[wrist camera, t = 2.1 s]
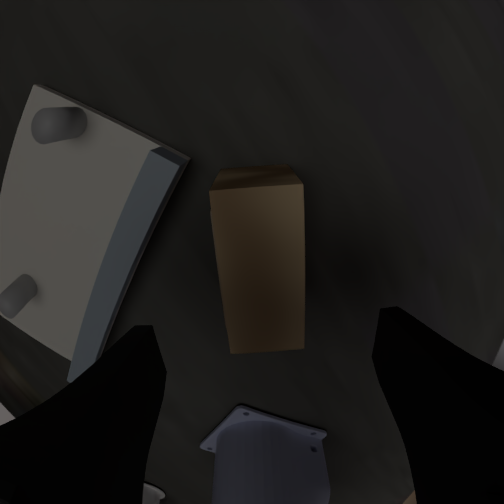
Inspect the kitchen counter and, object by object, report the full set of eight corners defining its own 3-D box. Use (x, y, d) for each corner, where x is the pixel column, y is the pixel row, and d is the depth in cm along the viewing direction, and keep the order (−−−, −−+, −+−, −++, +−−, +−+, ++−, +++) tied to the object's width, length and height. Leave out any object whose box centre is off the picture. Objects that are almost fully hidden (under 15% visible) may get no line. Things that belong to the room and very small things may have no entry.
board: (191, 157, 17) (174, 169, 13) (97, 365, 23) (80, 400, 19) (42, 84, 14) (2, 83, 11) (-6, 299, 21) (-32, 324, 17)
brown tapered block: (287, 163, 17) (303, 184, 12) (291, 292, 20) (304, 348, 15) (218, 169, 17) (205, 191, 12) (232, 296, 20) (227, 354, 15)
